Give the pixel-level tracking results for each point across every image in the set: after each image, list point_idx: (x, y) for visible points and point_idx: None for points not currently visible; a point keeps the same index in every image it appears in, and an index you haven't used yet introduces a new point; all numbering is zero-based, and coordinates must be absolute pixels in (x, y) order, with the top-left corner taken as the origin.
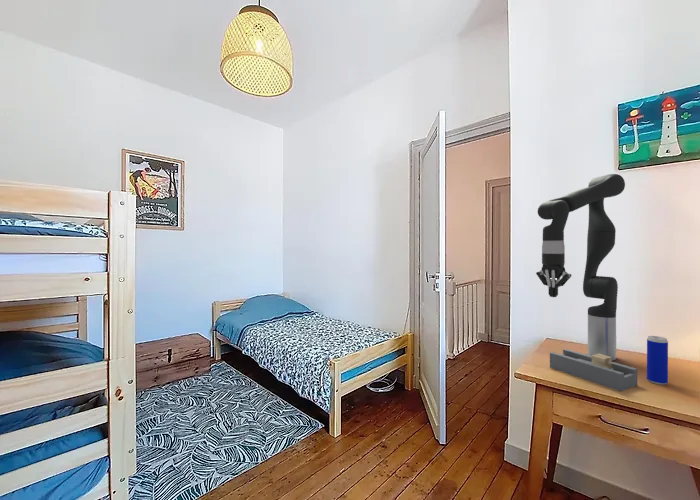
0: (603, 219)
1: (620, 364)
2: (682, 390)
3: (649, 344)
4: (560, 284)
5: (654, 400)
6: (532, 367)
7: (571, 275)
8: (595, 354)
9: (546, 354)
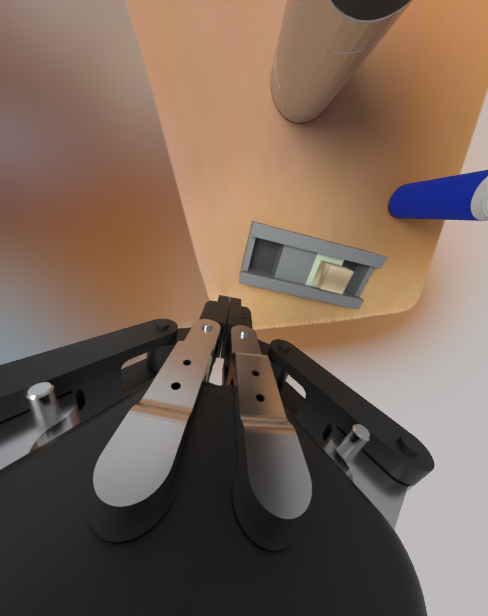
0: None
1: (361, 253)
2: None
3: (460, 215)
4: (287, 392)
5: (381, 296)
6: None
7: (426, 448)
8: (326, 276)
9: (199, 190)
